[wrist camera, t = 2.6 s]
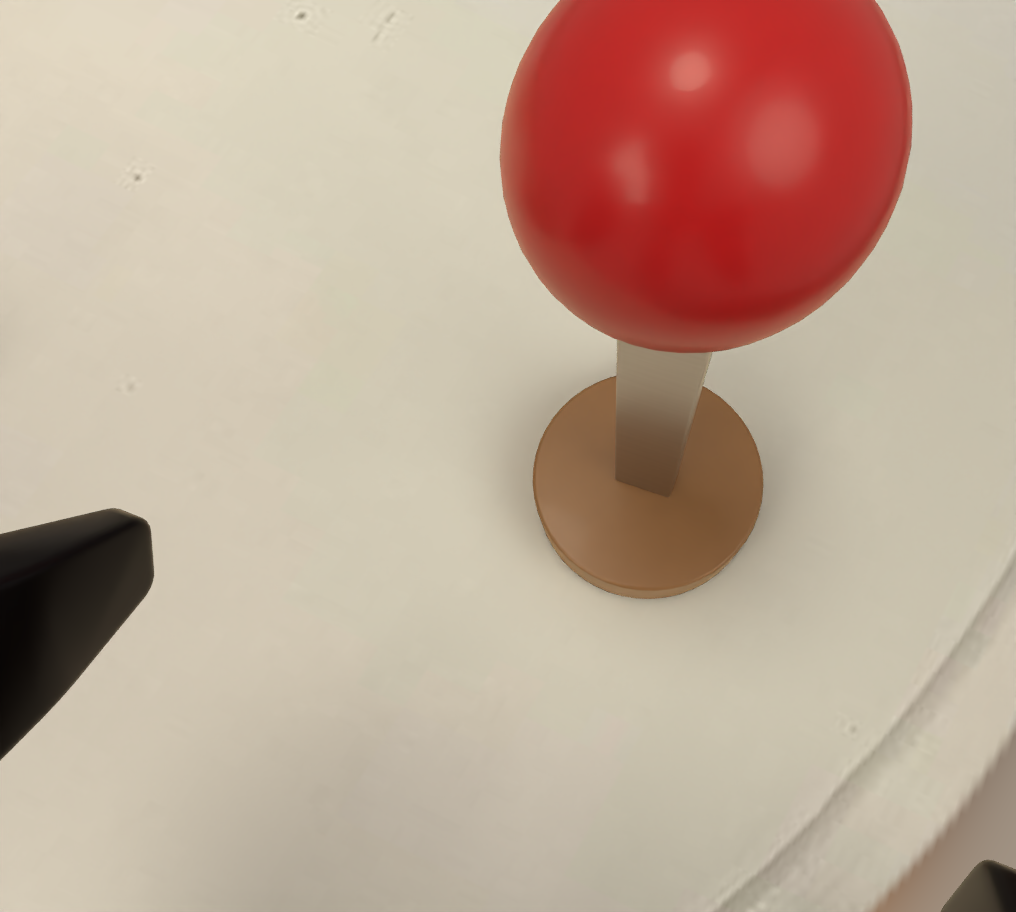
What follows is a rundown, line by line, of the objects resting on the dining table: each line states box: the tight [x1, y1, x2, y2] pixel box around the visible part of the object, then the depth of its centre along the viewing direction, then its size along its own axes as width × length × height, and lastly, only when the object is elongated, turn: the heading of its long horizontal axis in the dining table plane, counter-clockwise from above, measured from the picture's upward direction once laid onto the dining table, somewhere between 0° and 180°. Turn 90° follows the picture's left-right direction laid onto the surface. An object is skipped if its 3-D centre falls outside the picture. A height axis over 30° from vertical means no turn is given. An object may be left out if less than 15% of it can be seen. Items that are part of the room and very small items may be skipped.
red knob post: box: [500, 0, 912, 599], centre depth 14 cm, size 6×6×16 cm
